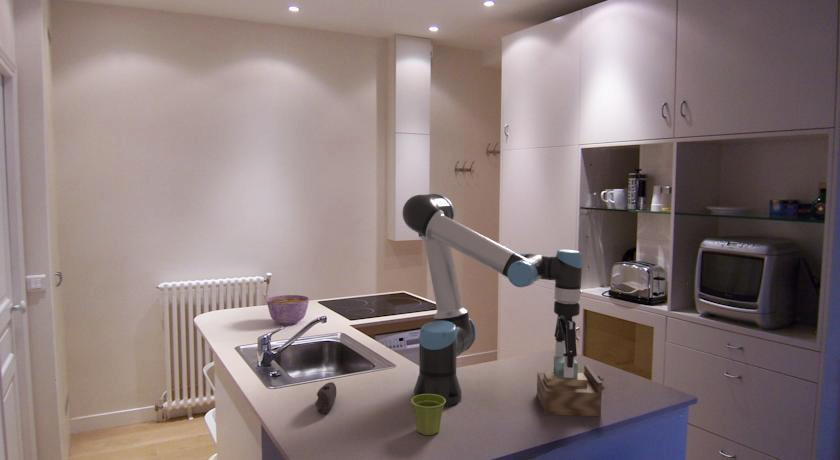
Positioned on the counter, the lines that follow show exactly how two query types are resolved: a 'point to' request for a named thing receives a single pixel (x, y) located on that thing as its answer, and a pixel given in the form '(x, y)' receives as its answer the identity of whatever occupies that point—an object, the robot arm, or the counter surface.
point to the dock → (571, 396)
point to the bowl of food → (287, 308)
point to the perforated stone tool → (326, 397)
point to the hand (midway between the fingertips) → (563, 369)
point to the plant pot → (428, 412)
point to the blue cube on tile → (558, 375)
